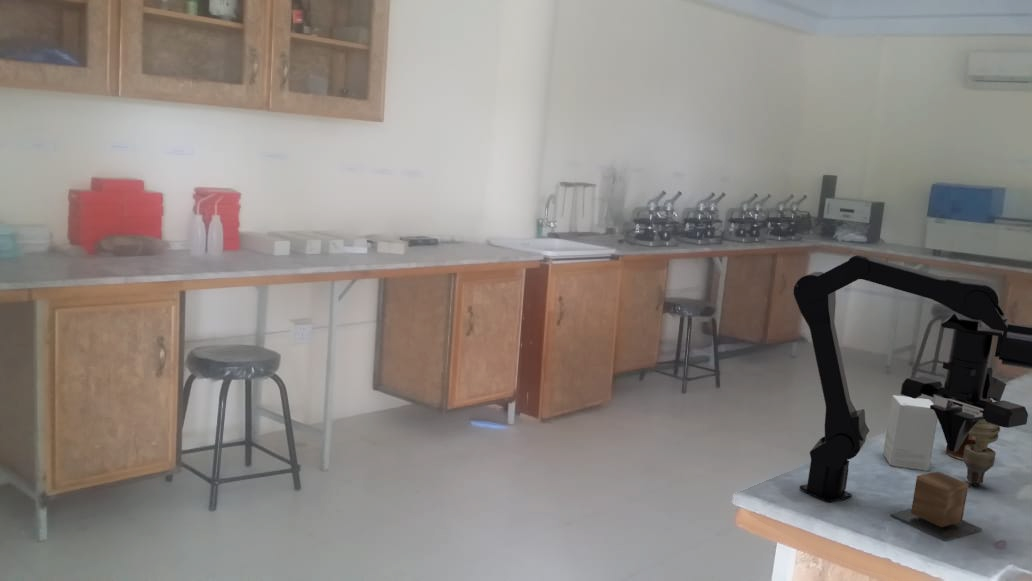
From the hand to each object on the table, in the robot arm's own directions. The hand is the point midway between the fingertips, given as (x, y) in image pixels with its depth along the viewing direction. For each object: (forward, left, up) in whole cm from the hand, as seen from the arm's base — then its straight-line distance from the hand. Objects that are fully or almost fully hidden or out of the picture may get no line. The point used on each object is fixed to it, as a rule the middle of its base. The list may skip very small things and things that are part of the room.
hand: (953, 451), depth 146 cm
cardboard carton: (-1, 0, -12) cm, 12 cm away
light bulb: (+23, +8, -13) cm, 28 cm away
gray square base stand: (-1, 0, -13) cm, 13 cm away
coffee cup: (+37, +19, -13) cm, 44 cm away
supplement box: (+21, +21, -13) cm, 33 cm away
